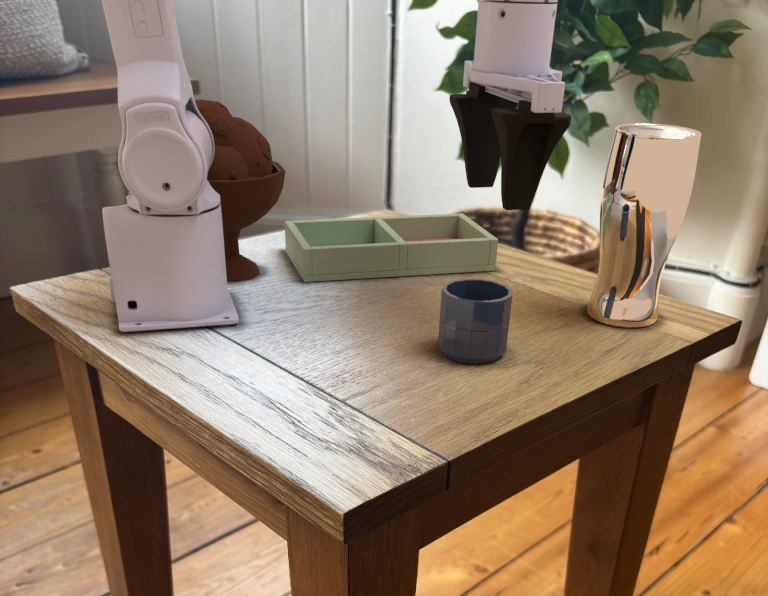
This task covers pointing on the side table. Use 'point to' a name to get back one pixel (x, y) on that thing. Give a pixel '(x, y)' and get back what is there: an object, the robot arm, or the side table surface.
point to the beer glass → (641, 218)
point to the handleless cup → (474, 320)
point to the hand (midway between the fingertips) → (497, 197)
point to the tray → (388, 246)
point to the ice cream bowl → (240, 181)
